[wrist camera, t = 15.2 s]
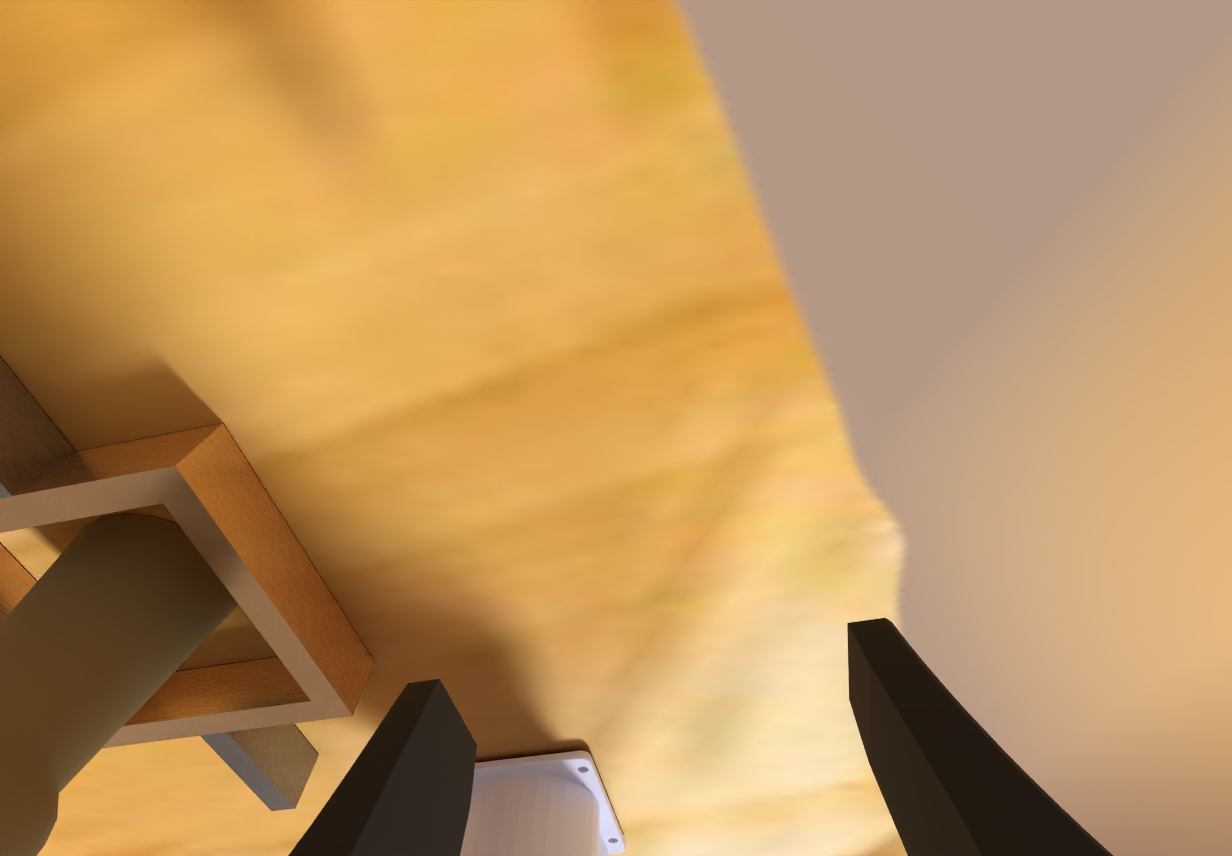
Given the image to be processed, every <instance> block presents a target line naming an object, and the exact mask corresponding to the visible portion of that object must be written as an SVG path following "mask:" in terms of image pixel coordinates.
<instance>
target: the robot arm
mask: <svg viewBox="0 0 1232 856" xmlns="http://www.w3.org/2000/svg"><path fill="white" fill-rule="evenodd" d="M848 665H849V700H850V703H851V706H852V709H853V713H854V716H855V719H856V722H857V726H858V729H859V732H860V735H861V739H862V742H863V745H864V748H865V751H866V754H867V757H868V761H869V764H870V766H871V768H872V771H873V773H874V776H875V778H876V781H877V783H878V785H879V788H880V790H881V793H882V795H883V797H884V800H885V802H886V805H887V807H888V809H889V812H890V814H891V816H892V819H893V821H894V824H895V826H896V828H897V831H898V833H899V835H900V838H901V840H902V843H903V845H904V847H905V850H906V852H907V854H908V856H1113V855H1112V854H1111V853H1110V852H1109V851H1107V850H1106V849H1105V848H1104V847H1103V846H1102V845H1101V844H1100V843H1098V841H1096V840H1095V839H1094V838H1093V837H1092V836H1091V835H1090V834H1089V833H1088V832H1086V830H1084V829H1083V828H1082V827H1081V826H1080V825H1079V824H1078V823H1077V822H1076V821H1075V820H1074V819H1073V818H1072V817H1071V816H1070V815H1069V814H1068V813H1066V812H1065V811H1064V810H1063V809H1062V808H1061V807H1060V806H1059V805H1058V804H1057V803H1056V802H1055V801H1054V800H1053V799H1052V798H1051V797H1050V796H1049V795H1048V794H1047V793H1046V792H1045V791H1044V790H1043V789H1042V788H1041V787H1040V786H1039V785H1038V784H1037V783H1035V781H1034V780H1033V779H1031V778H1030V777H1029V776H1028V775H1027V774H1026V773H1025V772H1024V771H1023V770H1022V769H1021V767H1020V766H1019V765H1017V764H1016V762H1014V761H1013V759H1012V758H1011V757H1010V756H1009V755H1008V754H1007V753H1006V752H1005V751H1004V750H1003V749H1002V748H1001V747H1000V746H999V745H998V744H997V743H996V742H995V741H994V740H993V738H991V736H989V734H988V733H987V732H986V731H985V730H984V729H983V728H982V727H981V726H980V725H979V724H978V723H977V722H976V720H975V719H973V717H972V716H971V715H970V714H969V713H968V712H967V711H966V710H965V709H964V708H963V706H962V705H961V704H960V703H959V702H958V701H957V700H956V699H955V698H954V697H953V695H952V694H951V693H950V692H949V691H948V690H947V689H946V687H945V686H944V685H943V684H942V683H941V682H940V681H939V679H938V678H937V677H936V676H935V675H934V674H933V672H932V671H931V670H930V669H929V668H928V667H927V665H926V664H925V663H924V662H923V661H922V659H921V658H920V657H919V656H918V655H917V653H916V652H915V651H914V650H913V649H912V647H911V646H910V645H909V644H908V643H907V641H906V640H905V638H904V637H903V636H902V635H901V633H900V632H899V631H898V629H897V628H896V627H895V626H894V624H893V623H892V622H891V621H889V620H888V619H886V618H881V619H874V620H866V621H859V622H852V623H848ZM476 747H477V744H476V743H475V741H474V739H473V737H472V735H471V734H470V732H469V730H468V728H467V727H466V725H465V723H464V721H463V720H462V718H461V716H460V714H459V712H458V711H457V709H456V707H455V705H454V704H453V702H452V700H451V698H450V697H449V695H448V693H447V691H446V689H445V688H444V686H443V684H442V682H441V681H440V679H436V680H429V681H421V682H414V683H408V684H407V685H406V687H405V688H404V690H403V691H402V693H401V694H400V696H399V697H398V698H397V700H396V701H395V703H394V704H393V706H392V707H391V709H390V710H389V712H388V713H387V715H386V716H385V718H384V719H383V721H382V722H381V724H380V725H379V727H378V728H377V730H376V731H375V733H374V734H373V736H372V737H371V739H370V740H369V742H368V743H367V745H366V746H365V748H364V749H363V751H362V752H361V754H360V755H359V757H358V758H357V760H356V761H355V763H354V764H353V766H352V767H351V769H350V770H349V771H348V773H347V774H346V776H345V777H344V779H343V780H342V782H341V783H340V784H339V786H338V787H337V789H336V790H335V792H334V793H333V795H332V796H331V797H330V799H329V800H328V802H327V803H326V805H325V806H324V808H323V809H322V810H321V812H320V813H319V815H318V816H317V818H316V819H315V820H314V822H313V823H312V825H311V826H310V827H309V829H308V830H307V831H306V833H305V834H304V835H303V837H302V838H301V839H300V841H299V842H298V843H297V845H296V846H295V848H294V849H293V850H292V852H291V853H290V854H289V856H608V855H609V854H619V853H622V852H624V851H625V850H626V842H625V839H624V837H623V834H622V832H621V829H620V827H619V824H618V822H617V819H616V817H615V814H614V812H613V809H612V807H611V804H610V802H609V799H608V797H607V794H606V792H605V789H604V787H603V784H602V782H601V779H600V777H599V774H598V772H597V769H596V767H595V764H594V762H593V759H592V757H591V755H590V754H589V753H588V752H586V751H572V752H563V753H555V754H546V755H538V756H529V757H521V758H512V759H504V760H496V761H487V762H479V763H475V758H476Z"/></svg>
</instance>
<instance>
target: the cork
mask: <svg viewBox="0 0 1232 856" xmlns="http://www.w3.org/2000/svg"><path fill="white" fill-rule="evenodd" d="M237 604H238V603H237V602H236V600H235V599H234V598H233V596H232V595H231V594H230V592H229V591H228V590H227V588H226V587H225V586H224V584H223V583H222V582H221V580H220V579H219V578H218V576H217V575H216V574H215V572H214V571H213V570H212V568H211V567H210V566H209V564H208V563H207V562H206V560H205V559H204V558H203V556H202V555H201V554H200V552H199V551H198V550H197V548H196V547H195V546H194V544H193V543H192V542H191V540H190V539H189V538H188V536H187V535H186V534H185V532H184V531H183V530H182V528H181V527H180V526H179V524H177V523H173V522H170V521H167V520H164V519H160V518H157V517H154V516H149V515H138V514H126V513H123V514H118V515H112V516H106V517H101V518H100V519H98V520H96V521H95V522H93V523H91V524H90V525H88V526H86V527H85V528H84V529H83V530H82V531H81V533H80V534H79V535H78V536H77V537H76V538H75V539H74V540H73V542H72V543H71V544H70V545H69V546H68V547H67V548H66V550H65V551H64V552H63V553H62V554H61V555H60V556H59V558H58V559H57V560H56V561H55V562H54V563H53V564H52V566H51V567H50V568H49V569H48V570H47V571H46V572H45V574H44V575H43V576H42V577H41V578H40V579H39V580H38V582H37V583H36V584H35V585H34V586H33V587H32V588H31V589H30V591H29V592H28V593H27V594H26V595H25V596H24V597H23V599H22V600H21V601H20V602H19V603H18V604H17V605H16V607H15V608H14V609H13V610H12V611H11V612H10V613H9V615H8V616H7V617H6V618H5V619H4V620H3V621H2V623H1V624H0V856H37V854H38V853H39V852H40V850H41V849H42V848H43V846H44V845H45V843H46V841H47V839H48V837H49V835H50V833H51V831H52V829H53V826H54V824H55V822H56V820H57V812H58V796H59V792H60V791H61V790H62V789H63V788H64V787H65V786H66V785H67V784H68V783H69V782H70V781H71V780H72V779H73V778H74V777H75V776H76V775H77V774H78V773H79V771H80V770H81V769H82V768H83V767H84V766H85V765H86V764H87V763H88V762H89V761H90V760H91V759H92V758H93V757H94V756H95V755H96V754H97V753H98V752H99V751H100V749H101V748H102V747H103V746H104V745H105V744H106V743H107V742H108V741H109V740H110V739H111V738H112V737H113V736H114V735H115V734H116V733H117V732H118V731H119V730H120V728H121V727H122V726H123V725H124V724H125V723H126V722H127V721H128V720H129V719H130V718H131V717H132V716H133V715H134V714H135V713H136V712H137V711H138V710H139V709H140V707H141V706H142V705H143V704H144V703H145V702H146V701H147V700H148V699H149V698H150V697H151V696H152V695H153V694H154V693H155V692H156V691H157V690H158V689H159V688H160V687H161V685H162V684H163V683H164V682H165V681H166V680H167V679H168V678H169V677H170V676H171V675H172V674H173V673H174V672H175V671H176V670H177V669H178V668H179V667H180V666H181V664H182V663H183V662H184V661H185V660H186V659H187V658H188V657H189V656H190V655H191V654H192V653H193V652H194V651H195V650H196V649H197V648H198V647H199V646H200V645H201V644H202V642H203V641H204V640H205V639H206V638H207V637H208V636H209V635H210V634H211V633H212V632H213V631H214V630H215V629H216V628H217V627H218V626H219V625H220V624H221V623H222V621H223V620H224V619H225V618H226V617H227V616H228V615H229V614H230V613H231V611H232V610H233V609H234V608H235V607H236V605H237Z"/></svg>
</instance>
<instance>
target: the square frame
mask: <svg viewBox="0 0 1232 856" xmlns="http://www.w3.org/2000/svg"><path fill="white" fill-rule="evenodd" d="M157 504H164V506H165V507H166V508H167V510H168V511H169V512H170V514H171V515H172V516H173V518H174V519H175V520H176V522H177V523H178V524H179V526H180V527H181V528H182V530H183V531H184V532H185V534H186V535H187V536H188V538H189V539H190V540H191V542H192V543H193V544H194V546H195V547H196V548H197V550H198V551H199V552H200V554H201V555H202V556H203V558H204V559H205V560H206V562H207V563H208V564H209V566H210V567H211V568H212V570H213V571H214V572H215V574H216V575H217V576H218V578H219V579H220V580H221V582H222V583H223V584H224V586H225V587H226V588H227V590H228V591H229V592H230V594H231V595H232V596H233V598H234V599H235V600H236V602H237V603H238V604H239V606H240V607H241V608H242V610H243V611H244V612H245V613H246V615H247V616H248V617H249V619H250V620H251V621H252V623H253V624H254V625H255V627H256V628H257V629H258V631H259V632H260V633H261V635H262V636H263V637H264V639H265V640H266V641H267V643H268V644H269V645H270V647H271V648H272V649H273V651H274V652H275V653H276V655H277V656H278V657H274V658H267V659H260V660H254V661H247V662H240V663H233V664H226V665H219V666H212V667H205V668H198V669H191V670H184V671H177V672H174V673H173V674H172V675H171V676H170V677H169V678H168V679H167V680H166V681H165V682H164V683H163V684H162V685H161V687H160V688H159V689H158V690H157V691H156V692H155V693H154V694H153V695H152V696H151V697H150V698H149V699H148V700H147V701H146V702H145V703H144V704H143V705H142V706H141V707H140V709H139V710H138V711H137V712H136V713H135V714H134V715H133V716H132V717H131V718H130V719H129V720H128V721H127V722H126V723H125V724H124V725H123V726H122V727H121V728H120V730H119V731H118V732H117V733H116V734H115V735H114V736H113V737H112V738H111V739H110V740H109V741H108V742H107V743H106V744H105V745H104V746H103V747H102V748H108V747H116V746H123V745H131V744H139V743H146V742H154V741H162V740H169V739H177V738H185V737H193V736H201V737H202V738H203V739H204V740H205V741H206V742H207V743H208V744H209V745H210V747H211V748H212V749H213V750H214V751H215V752H216V753H217V754H218V755H219V756H220V757H221V758H222V759H223V760H224V761H225V762H226V763H227V764H228V765H229V767H230V768H231V769H232V770H233V771H234V772H235V773H236V774H237V775H238V776H239V777H240V778H241V779H242V780H243V781H244V782H245V783H246V784H247V786H248V787H249V788H250V789H251V790H252V791H253V792H254V793H255V794H256V795H257V796H258V797H259V798H260V799H261V800H262V801H263V802H264V803H265V805H266V806H267V807H268V808H269V809H270V810H271V811H276V810H285V809H294V808H296V806H297V803H298V801H299V799H300V797H301V794H302V792H303V790H304V788H305V785H306V783H307V781H308V779H309V776H310V774H311V772H312V769H313V767H314V765H315V763H316V760H317V758H318V756H319V755H318V754H317V752H316V751H315V750H314V749H313V747H312V746H311V745H310V744H309V742H308V741H307V740H306V739H305V737H304V736H303V735H302V734H301V732H300V731H299V730H298V729H297V727H296V726H295V725H294V724H293V723H300V722H308V721H315V720H323V719H331V718H338V717H346V716H353V714H354V711H355V709H356V706H357V704H358V702H359V699H360V697H361V694H362V692H363V690H364V687H365V685H366V682H367V680H368V677H369V675H370V673H371V670H372V668H373V665H374V661H373V659H372V658H371V656H370V655H369V653H368V652H367V650H366V648H365V647H364V645H363V644H362V642H361V641H360V639H359V637H358V636H357V634H356V633H355V631H354V629H353V628H352V626H351V625H350V623H349V622H348V620H347V618H346V617H345V615H344V614H343V612H342V611H341V609H340V607H339V606H338V604H337V603H336V601H335V599H334V598H333V596H332V595H331V593H330V592H329V590H328V588H327V587H326V585H325V584H324V582H323V580H322V579H321V577H320V576H319V574H318V573H317V571H316V569H315V568H314V566H313V565H312V563H311V562H310V560H309V558H308V557H307V555H306V554H305V552H304V550H303V549H302V547H301V546H300V544H299V543H298V541H297V539H296V538H295V536H294V535H293V533H292V532H291V530H290V528H289V527H288V525H287V524H286V522H285V520H284V519H283V517H282V516H281V514H280V513H279V511H278V509H277V508H276V506H275V505H274V503H273V501H272V500H271V498H270V497H269V495H268V494H267V492H266V490H265V489H264V487H263V486H262V484H261V483H260V481H259V479H258V478H257V476H256V475H255V473H254V471H253V470H252V468H251V467H250V465H249V464H248V462H247V460H246V459H245V457H244V456H243V454H242V453H241V451H240V449H239V448H238V446H237V445H236V443H235V441H234V440H233V438H232V437H231V435H230V434H229V432H228V430H227V429H226V427H225V426H224V424H217V425H212V426H207V427H202V428H197V429H191V430H186V431H181V432H176V433H171V434H166V435H160V436H155V437H150V438H145V439H140V440H135V441H129V442H124V443H119V444H114V445H109V446H104V447H98V448H93V449H88V450H83V451H78V452H75V450H74V449H73V448H72V447H71V445H70V444H69V443H68V442H67V440H66V439H65V438H64V437H63V435H62V434H61V433H60V432H59V430H58V429H57V428H56V427H55V425H54V424H53V423H52V422H51V420H50V419H49V418H48V417H47V415H46V414H45V413H44V412H43V410H42V409H41V408H40V407H39V405H38V404H37V403H36V402H35V400H34V399H33V398H32V397H31V395H30V394H29V393H28V392H27V390H26V389H25V388H24V387H23V385H22V384H21V383H20V382H19V380H18V379H17V378H16V377H15V375H14V374H13V373H12V372H11V370H10V369H9V368H8V367H7V365H6V364H5V363H4V362H3V360H2V359H1V358H0V533H1V532H7V531H12V530H18V529H24V528H29V527H35V526H40V525H46V524H51V523H57V522H63V521H68V520H74V519H79V518H85V517H90V516H96V515H102V514H107V513H113V512H118V511H124V510H130V509H135V508H141V507H146V506H152V505H157ZM36 583H37V581H36V580H35V579H34V578H33V577H32V576H31V575H30V574H29V573H28V572H27V571H26V570H25V569H24V568H23V567H22V566H21V565H20V564H19V563H18V562H17V561H16V560H15V559H14V558H13V557H12V555H11V554H10V553H9V552H8V551H7V550H6V549H5V548H4V547H3V546H2V545H1V544H0V624H1V623H2V621H3V620H4V619H5V618H6V617H7V616H8V615H9V613H10V612H11V611H12V610H13V609H14V608H15V607H16V605H17V604H18V603H19V602H20V601H21V600H22V599H23V597H24V596H25V595H26V594H27V593H28V592H29V591H30V589H31V588H32V587H33V586H34V585H35V584H36Z"/></svg>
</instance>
